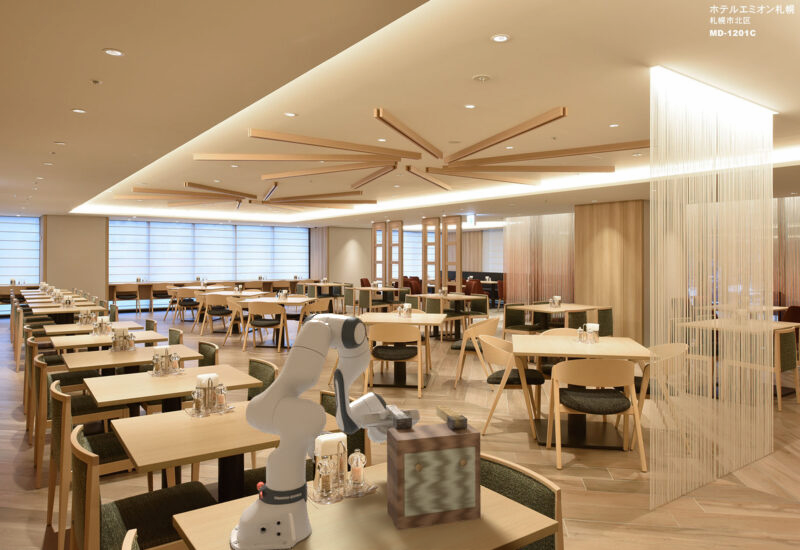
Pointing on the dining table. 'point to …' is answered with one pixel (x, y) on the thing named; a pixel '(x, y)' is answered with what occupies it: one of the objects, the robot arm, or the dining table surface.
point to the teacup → (312, 446)
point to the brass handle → (451, 418)
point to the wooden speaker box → (433, 475)
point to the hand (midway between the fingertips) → (394, 412)
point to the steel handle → (399, 417)
